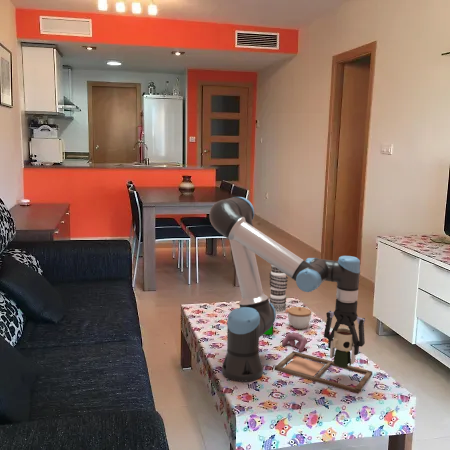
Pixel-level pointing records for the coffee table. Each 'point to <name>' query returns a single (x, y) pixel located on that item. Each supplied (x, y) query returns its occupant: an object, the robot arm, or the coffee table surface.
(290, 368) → the rail frame
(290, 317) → the lidded jar
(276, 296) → the decorative candle
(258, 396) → the coffee table surface
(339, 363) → the character mug
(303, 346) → the video game controller
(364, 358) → the coffee table surface
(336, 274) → the robot arm
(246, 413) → the coffee table surface
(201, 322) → the coffee table surface
